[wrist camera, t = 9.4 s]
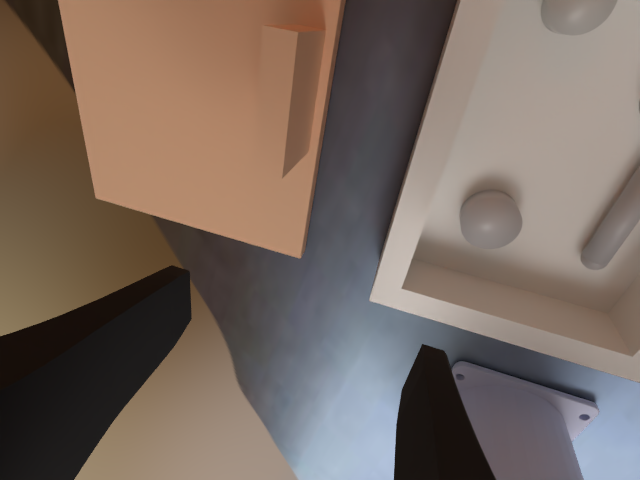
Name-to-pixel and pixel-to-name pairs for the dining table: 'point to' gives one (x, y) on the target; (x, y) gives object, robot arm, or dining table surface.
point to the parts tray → (528, 183)
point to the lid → (207, 109)
